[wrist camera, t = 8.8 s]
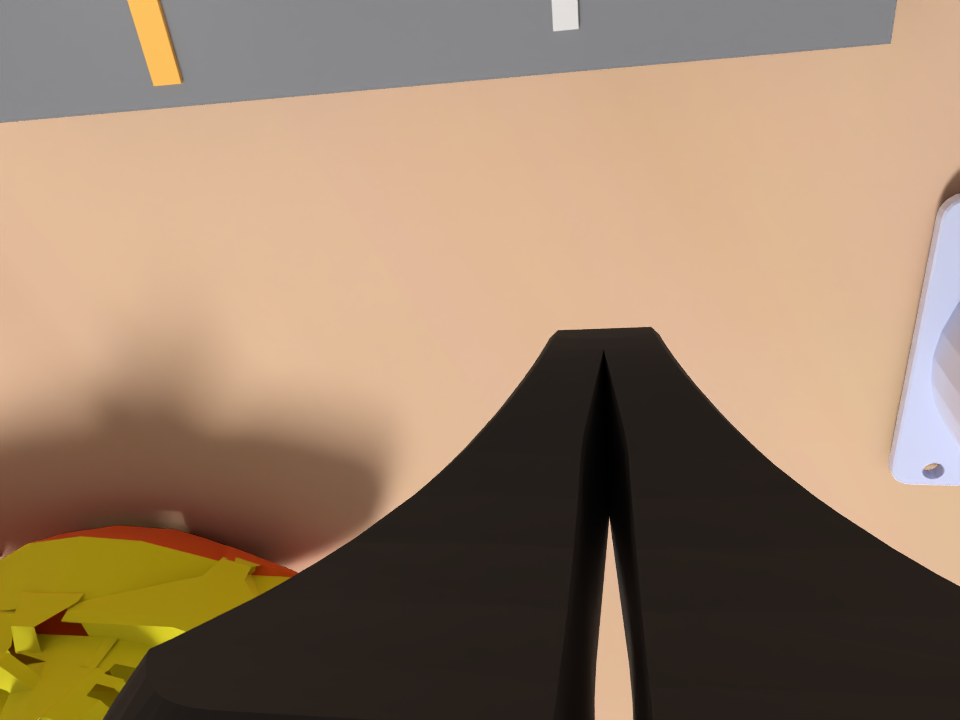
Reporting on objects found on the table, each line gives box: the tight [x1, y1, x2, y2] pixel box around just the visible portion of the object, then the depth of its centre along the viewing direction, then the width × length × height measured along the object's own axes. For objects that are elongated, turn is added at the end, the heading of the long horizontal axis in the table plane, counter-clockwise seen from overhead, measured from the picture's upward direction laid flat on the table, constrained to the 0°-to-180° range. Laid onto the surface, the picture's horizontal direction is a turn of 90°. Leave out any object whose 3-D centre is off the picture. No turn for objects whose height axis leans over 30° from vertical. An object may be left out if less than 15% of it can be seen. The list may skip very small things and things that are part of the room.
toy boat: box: [0, 525, 298, 720], centre depth 24 cm, size 6×18×10 cm, turn 100°
